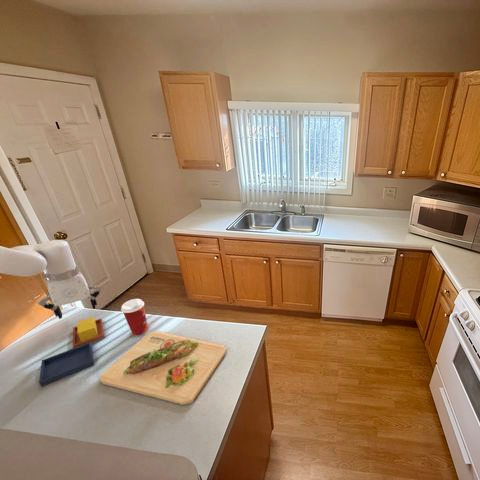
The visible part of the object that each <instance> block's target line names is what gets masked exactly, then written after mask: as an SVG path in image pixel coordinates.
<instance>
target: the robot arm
mask: <svg viewBox="0 0 480 480" xmlns="http://www.w3.org/2000/svg"><path fill="white" fill-rule="evenodd" d="M44 271H46V273H44V274H42V275H41V277H42V279H47V283H46V284H47V289H48V293H49V294H47V295H46V296H45V297H43V298H41V299H40V300H38V305H39V306H41V307H42V308H44V309H48V310H50V311H52V312H53V314H54V315H55V317H58V320H60V319H62V318H63V312H62V310H61V307H62V306H65V305H68V304H72V303H76V302H79V301H83V300H86V299H89V300H90V304H91V307H92V309H93V310H95V309H96V306H97V305H98V302H97V300H96V299H97V298H98V296H99V295H100V292H101V290H102V285H97V284H96V285H95V284H88V282H87V280H86V278H85V277H84V275H83V274H82V272H81V271H79V270H78V267H77V265H76V262H75V258H74V256H73V253H72V249H71V247H70V244H69V242H68V241H66V240H63V239H52V240H48V241H43V242H41V243H35V244H25V245H24V244H23V245H18V246H17V245H16V246H13V247H10V248H8V247H6V246H1V245H0V274H2V275H9V276H14V277H15V276H16V277H24V278H25V277H26V278H27V277H34V276H37V275H40V274H41V273H43V272H44ZM90 290H94V292H90ZM50 300H51V303H49V302H48V301H50Z"/></svg>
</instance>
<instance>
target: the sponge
mask: <svg viewBox="0 0 480 480" xmlns="http://www.w3.org/2000/svg"><path fill="white" fill-rule="evenodd" d="M95 320H96V319H95V317H94V316H91V317H88V318H85V319H82V320H79V321H77V323H76V324H77V326H76V327H77V328H78V335H79V338H80V340H81V342H83V341H85V340H88V339H91V338H94V337H96V336H98V333H97V325H96V322H95Z"/></svg>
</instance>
